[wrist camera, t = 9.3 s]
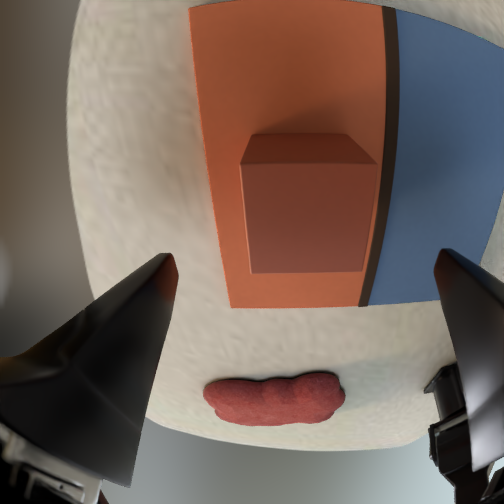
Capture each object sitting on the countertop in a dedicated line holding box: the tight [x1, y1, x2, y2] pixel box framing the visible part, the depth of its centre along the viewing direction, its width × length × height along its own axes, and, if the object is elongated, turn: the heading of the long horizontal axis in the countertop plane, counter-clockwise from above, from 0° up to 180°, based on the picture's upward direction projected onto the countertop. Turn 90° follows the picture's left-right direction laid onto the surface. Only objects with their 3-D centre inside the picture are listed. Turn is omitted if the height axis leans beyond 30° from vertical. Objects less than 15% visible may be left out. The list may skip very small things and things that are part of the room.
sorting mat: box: [188, 0, 504, 308], centre depth 14 cm, size 20×20×1 cm
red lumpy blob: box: [203, 373, 345, 426], centre depth 31 cm, size 18×14×2 cm
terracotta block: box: [239, 133, 378, 274], centre depth 13 cm, size 5×5×5 cm
